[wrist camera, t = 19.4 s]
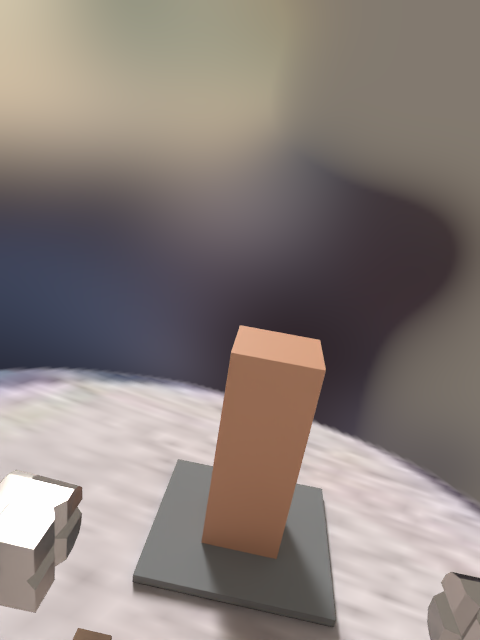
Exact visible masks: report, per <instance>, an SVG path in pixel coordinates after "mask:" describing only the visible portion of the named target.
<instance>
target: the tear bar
mask: <svg viewBox="0 0 480 640" xmlns="http://www.w3.org/2000/svg"><path fill="white" fill-rule="evenodd" d="M111 639H112V636H111V635H106V634H102V633H98V632H93V631H89V630H85V629H81V628H78V629H77V632H76V634H75V636H74V638H73V640H111Z"/></svg>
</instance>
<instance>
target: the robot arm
mask: <svg viewBox="0 0 480 640" xmlns="http://www.w3.org/2000/svg"><path fill="white" fill-rule="evenodd" d="M81 500H82V487H80V486H77V485H73V484H69V483H66V482H62V481H58V480H54V479H50V478H47V477H43V476H39V475H34V474H30V473H26V472H22V471H18V470H15V471H13V472H11V473H9V474H8V475H7V476H6V477H5V478H4V479H3V480H2V481H1V482H0V605H1V606H5V607H10V608H15V609H19V610H24V611H29V612H34V613H36V611H37V609H38V608H39V606H40V604H41V602H42V601H43V599H44V597H45V596H46V594H47V592H48V590H49V589H50V587H51V585H52V583H53V582H54V580H55V566H57V565H59V564H60V563H62V562H63V561H65V560H66V559H67V557H68V555H69V554H70V552H71V550H72V548H73V546H74V544H75V541H76V539H77V536H78V534H79V530H80V525H81V518H82V513H81V512H80V510H79V509H78V507H77V506H78V505H79V503H80V501H81ZM441 583H442V586H443V589H444V592H442V593H440V594H437V595H435V596H434V597H433V599H432V601H431V603H430V605H429V607H428V620H427V622H428V629H429V635H430V639H431V640H480V578H478V577H473V576H468V575H464V574H459V573H455V572H450V573H448V574H446V575H445V577H444V579H443V580H442V582H441Z"/></svg>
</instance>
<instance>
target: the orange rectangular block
mask: <svg viewBox="0 0 480 640" xmlns="http://www.w3.org/2000/svg"><path fill="white" fill-rule="evenodd" d="M325 371H326V369H325V364H324V359H323V353H322V348H321V343H320V340H317V339H310V338H305V337H300V336H295V335H289V334H284V333H279V332H273V331H268V330H262V329H256V328H252V327H246V326H240V328H239V330H238V333H237V337H236V339H235V343H234V346H233V349H232V352H231V357H230V363H229V370H228V376H227V383H226V389H225V395H224V401H223V408H222V414H221V421H220V427H219V433H218V440H217V446H216V452H215V459H214V465H213V471H212V478H211V484H210V490H209V497H208V503H207V510H206V516H205V522H204V529H203V535H202V541H201V543H205V544H210V545H214V546H219V547H223V548H228V549H232V550H237V551H242V552H246V553H251V554H255V555H260V556H265V557H269V558H274V559H277V555H278V552H279V548H280V544H281V540H282V536H283V532H284V529H285V525H286V521H287V517H288V513H289V509H290V506H291V502H292V498H293V494H294V490H295V486H296V483H297V479H298V475H299V471H300V467H301V463H302V460H303V456H304V452H305V448H306V444H307V440H308V437H309V433H310V429H311V425H312V421H313V417H314V413H315V410H316V406H317V402H318V398H319V394H320V390H321V387H322V383H323V379H324V375H325Z"/></svg>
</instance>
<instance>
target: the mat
mask: <svg viewBox="0 0 480 640" xmlns="http://www.w3.org/2000/svg"><path fill="white" fill-rule="evenodd" d="M212 471H213V466H208V465H203V464H199V463H194V462H189V461H184V460H179V459H178V461H177V464H176V466H175V469H174V471H173V474H172V476H171V479H170V482H169V484H168V487H167V489H166V492H165V494H164V497H163V499H162V502H161V505H160V507H159V510H158V512H157V515H156V517H155V520H154V523H153V525H152V528H151V530H150V533H149V535H148V538H147V540H146V543H145V546H144V548H143V551H142V553H141V556H140V558H139V561H138V564H137V566H136V569H135V571H134V574H133V582H137V583H141V584H146V585H150V586H154V587H159V588H163V589H168V590H172V591H177V592H181V593H185V594H190V595H194V596H199V597H203V598H208V599H212V600H216V601H221V602H225V603H230V604H234V605H239V606H243V607H247V608H252V609H256V610H261V611H265V612H270V613H274V614H278V615H283V616H287V617H292V618H296V619H301V620H305V621H309V622H314V623H318V624H323V625H327V626H332V627H334V624H335V621H336V617H335V607H334V598H333V588H332V579H331V570H330V560H329V551H328V542H327V532H326V523H325V514H324V504H323V495H322V489H320V488H315V487H310V486H305V485H300V484H296V486H295V490H294V494H293V498H292V502H291V506H290V509H289V513H288V517H287V521H286V525H285V529H284V532H283V536H282V540H281V544H280V548H279V552H278V555H277V559H274V558H269V557H265V556H260V555H255V554H251V553H246V552H242V551H237V550H232V549H228V548H223V547H219V546H214V545H210V544H205V543H201V541H202V535H203V529H204V522H205V516H206V510H207V503H208V497H209V490H210V484H211V478H212Z"/></svg>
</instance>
